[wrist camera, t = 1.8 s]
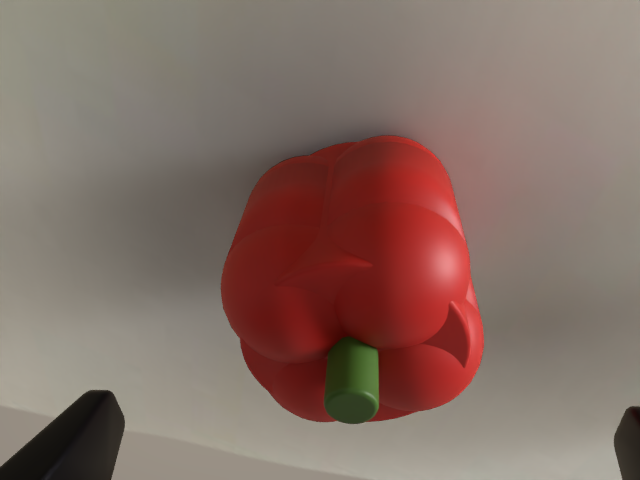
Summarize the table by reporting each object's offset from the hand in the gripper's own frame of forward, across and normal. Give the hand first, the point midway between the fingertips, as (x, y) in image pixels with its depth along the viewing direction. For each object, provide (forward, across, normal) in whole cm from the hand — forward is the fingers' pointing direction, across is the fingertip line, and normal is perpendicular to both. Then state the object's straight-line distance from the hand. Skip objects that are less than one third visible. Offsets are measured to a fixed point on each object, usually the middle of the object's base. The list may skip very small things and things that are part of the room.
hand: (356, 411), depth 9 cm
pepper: (+7, 0, 0) cm, 7 cm away
